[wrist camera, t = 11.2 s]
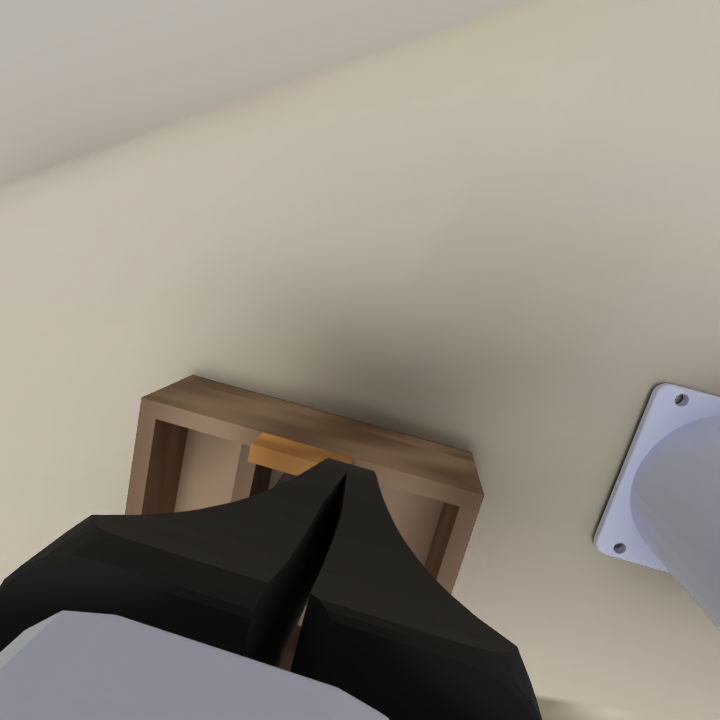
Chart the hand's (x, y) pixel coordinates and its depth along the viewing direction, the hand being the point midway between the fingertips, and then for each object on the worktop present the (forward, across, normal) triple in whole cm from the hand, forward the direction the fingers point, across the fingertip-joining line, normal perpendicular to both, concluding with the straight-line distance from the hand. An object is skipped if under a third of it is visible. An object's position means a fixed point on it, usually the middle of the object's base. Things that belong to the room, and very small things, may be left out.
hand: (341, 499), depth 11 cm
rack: (+9, +2, +7) cm, 12 cm away
